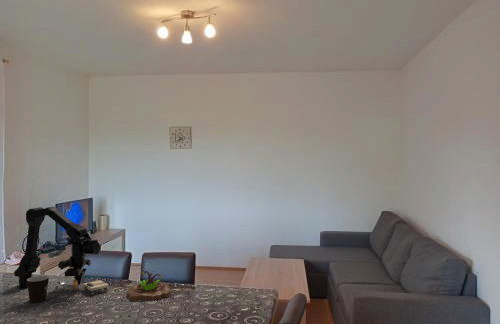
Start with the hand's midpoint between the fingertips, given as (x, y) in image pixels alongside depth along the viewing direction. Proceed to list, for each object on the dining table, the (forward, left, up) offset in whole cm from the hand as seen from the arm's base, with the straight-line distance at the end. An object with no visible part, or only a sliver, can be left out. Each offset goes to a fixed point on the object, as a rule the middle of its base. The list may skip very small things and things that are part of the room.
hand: (78, 285), depth 178 cm
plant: (+29, +22, -3) cm, 36 cm away
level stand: (+6, +3, -2) cm, 7 cm away
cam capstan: (-2, -5, -2) cm, 6 cm away
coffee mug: (+1, -17, -3) cm, 17 cm away
